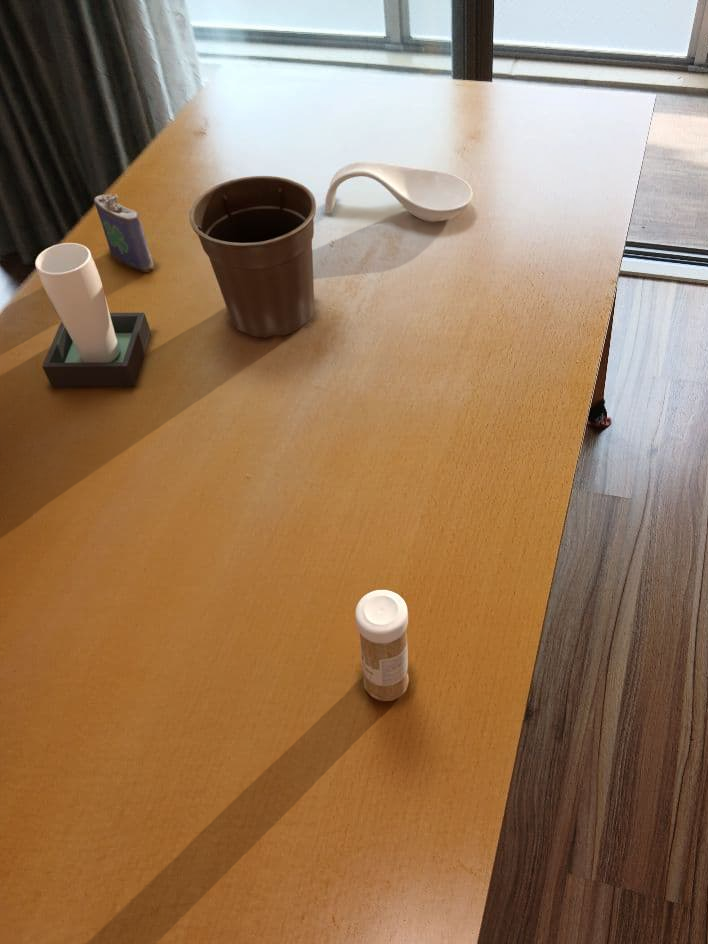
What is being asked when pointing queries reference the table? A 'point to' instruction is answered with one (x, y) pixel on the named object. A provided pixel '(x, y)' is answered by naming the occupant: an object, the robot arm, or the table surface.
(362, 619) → the sprinkles bottle
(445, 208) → the spoon rest
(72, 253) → the white tapered cylinder
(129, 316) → the cup holder
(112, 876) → the table surface
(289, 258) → the plant pot
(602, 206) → the table surface
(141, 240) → the flask
